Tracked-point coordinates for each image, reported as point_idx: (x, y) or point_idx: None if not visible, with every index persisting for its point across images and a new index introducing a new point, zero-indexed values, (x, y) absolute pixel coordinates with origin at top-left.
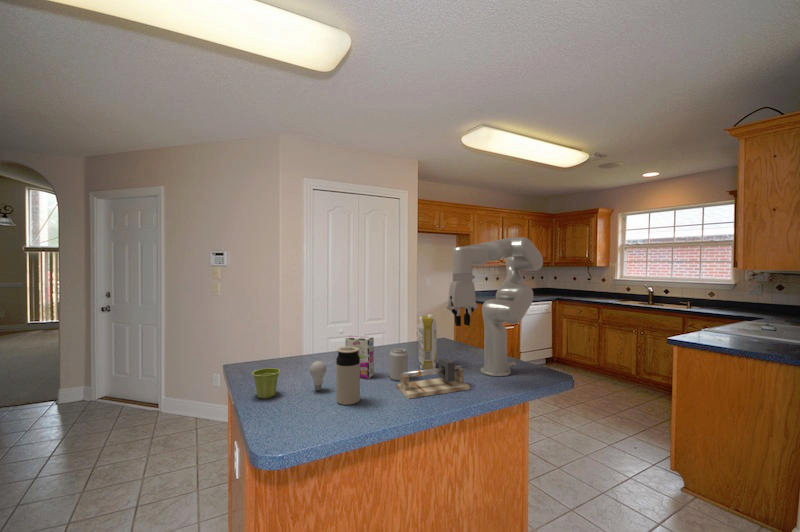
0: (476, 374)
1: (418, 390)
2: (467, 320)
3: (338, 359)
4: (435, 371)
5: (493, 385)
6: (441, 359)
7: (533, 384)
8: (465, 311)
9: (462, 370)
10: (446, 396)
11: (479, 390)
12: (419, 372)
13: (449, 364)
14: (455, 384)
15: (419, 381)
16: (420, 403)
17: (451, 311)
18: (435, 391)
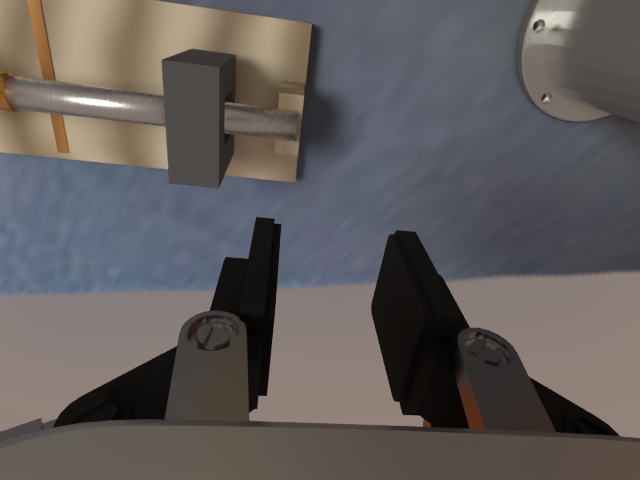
0: (485, 8)
1: (37, 126)
2: (384, 340)
3: None
4: (120, 120)
5: (415, 184)
6: (170, 87)
7: (546, 244)
8: (459, 385)
9: (289, 153)
10: (162, 193)
11: (322, 201)
12: (5, 109)
13: (183, 181)
14: (243, 143)
15: (79, 3)
16: (32, 204)
17: (88, 402)
18: (119, 162)
